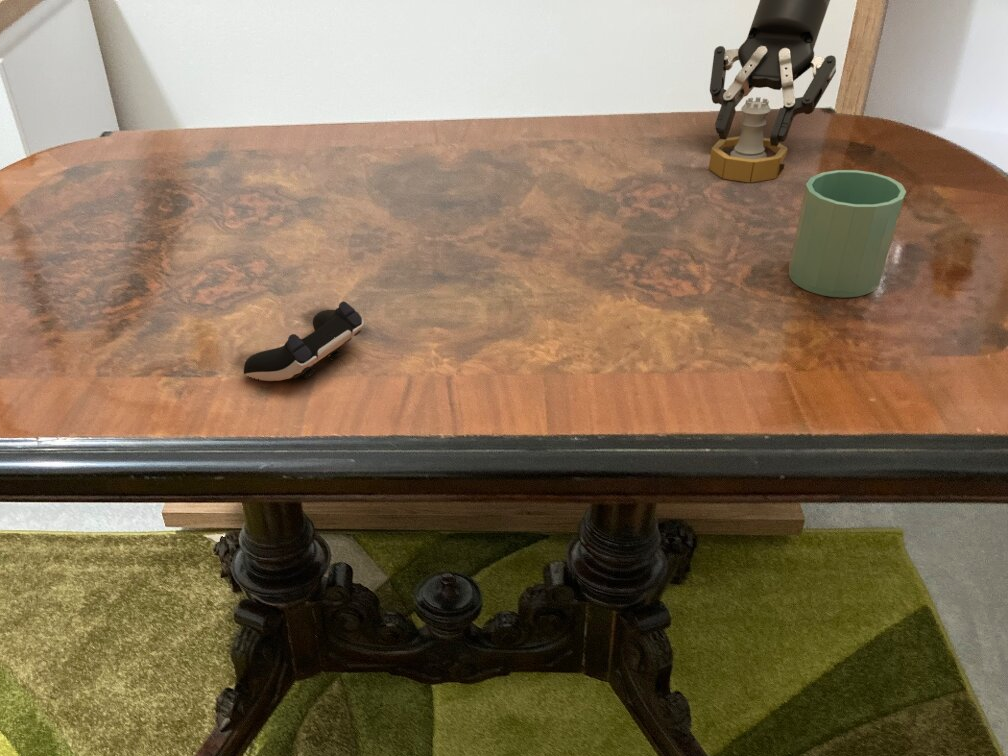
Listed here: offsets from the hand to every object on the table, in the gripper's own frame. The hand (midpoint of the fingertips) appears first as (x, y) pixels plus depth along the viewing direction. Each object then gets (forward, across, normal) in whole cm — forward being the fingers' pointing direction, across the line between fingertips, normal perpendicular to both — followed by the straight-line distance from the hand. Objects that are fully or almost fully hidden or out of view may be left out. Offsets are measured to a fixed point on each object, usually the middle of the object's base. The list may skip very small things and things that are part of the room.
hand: (747, 139), depth 106 cm
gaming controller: (+43, +22, +37) cm, 60 cm away
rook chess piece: (+2, 0, -4) cm, 5 cm away
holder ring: (+2, 0, -4) cm, 5 cm away
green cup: (+18, -15, +12) cm, 26 cm away
